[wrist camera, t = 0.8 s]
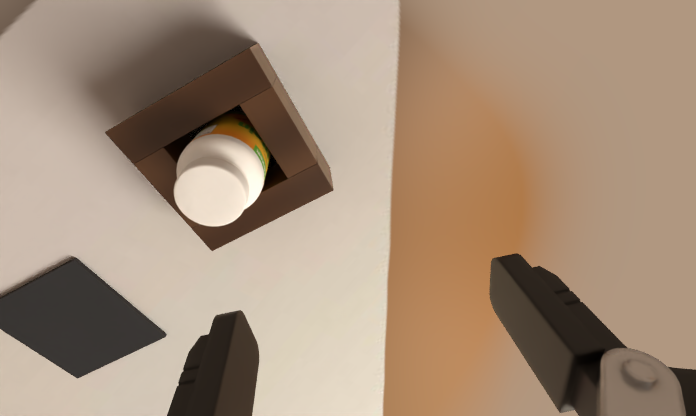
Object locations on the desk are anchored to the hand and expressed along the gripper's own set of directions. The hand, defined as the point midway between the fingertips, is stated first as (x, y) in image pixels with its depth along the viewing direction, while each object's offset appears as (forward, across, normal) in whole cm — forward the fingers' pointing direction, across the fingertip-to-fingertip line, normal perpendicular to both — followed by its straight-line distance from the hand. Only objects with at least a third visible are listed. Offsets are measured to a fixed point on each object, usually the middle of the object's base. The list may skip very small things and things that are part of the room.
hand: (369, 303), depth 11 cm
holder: (+20, +8, 0) cm, 21 cm away
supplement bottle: (+20, +8, 0) cm, 21 cm away
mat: (+20, +29, +14) cm, 38 cm away
